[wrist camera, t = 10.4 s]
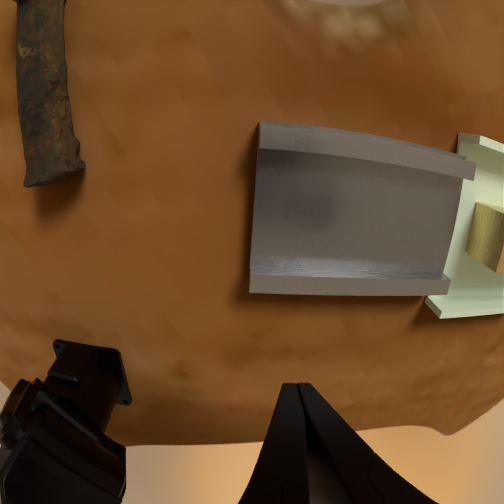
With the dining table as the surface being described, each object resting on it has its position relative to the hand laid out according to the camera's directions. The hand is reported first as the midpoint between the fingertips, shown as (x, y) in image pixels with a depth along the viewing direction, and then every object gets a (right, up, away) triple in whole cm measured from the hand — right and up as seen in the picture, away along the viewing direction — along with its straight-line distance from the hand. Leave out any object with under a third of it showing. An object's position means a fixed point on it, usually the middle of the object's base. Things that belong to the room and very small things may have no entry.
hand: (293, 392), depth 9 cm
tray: (+19, +6, +11) cm, 23 cm away
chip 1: (+17, +6, +11) cm, 21 cm away
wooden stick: (-15, +18, +6) cm, 24 cm away
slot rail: (+6, +7, +10) cm, 14 cm away
